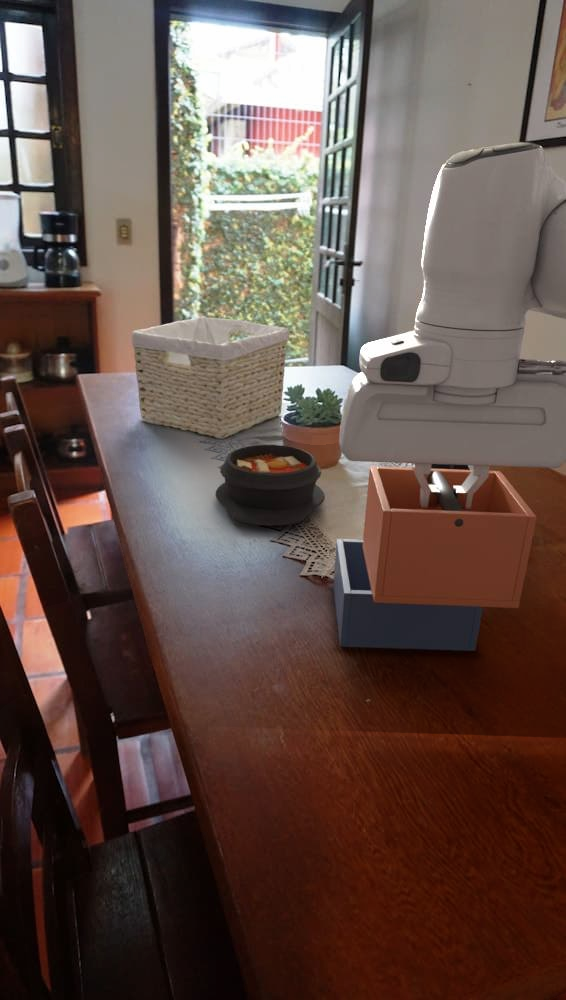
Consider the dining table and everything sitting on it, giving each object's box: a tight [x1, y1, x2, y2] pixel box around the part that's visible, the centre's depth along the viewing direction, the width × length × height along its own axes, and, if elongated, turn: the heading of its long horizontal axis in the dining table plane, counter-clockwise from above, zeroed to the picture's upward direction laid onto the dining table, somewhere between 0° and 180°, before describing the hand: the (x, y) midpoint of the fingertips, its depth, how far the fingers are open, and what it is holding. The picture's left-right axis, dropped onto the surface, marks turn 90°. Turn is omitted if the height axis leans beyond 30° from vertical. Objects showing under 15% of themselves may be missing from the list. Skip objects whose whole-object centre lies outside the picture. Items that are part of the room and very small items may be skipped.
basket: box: [131, 315, 290, 440], centre depth 158 cm, size 27×27×22 cm
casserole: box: [215, 444, 326, 527], centre depth 115 cm, size 25×19×8 cm
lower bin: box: [332, 538, 484, 652], centre depth 83 cm, size 16×14×8 cm
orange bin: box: [362, 465, 538, 609], centre depth 64 cm, size 13×11×9 cm
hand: (444, 506), depth 63 cm, fingers closed on orange bin
